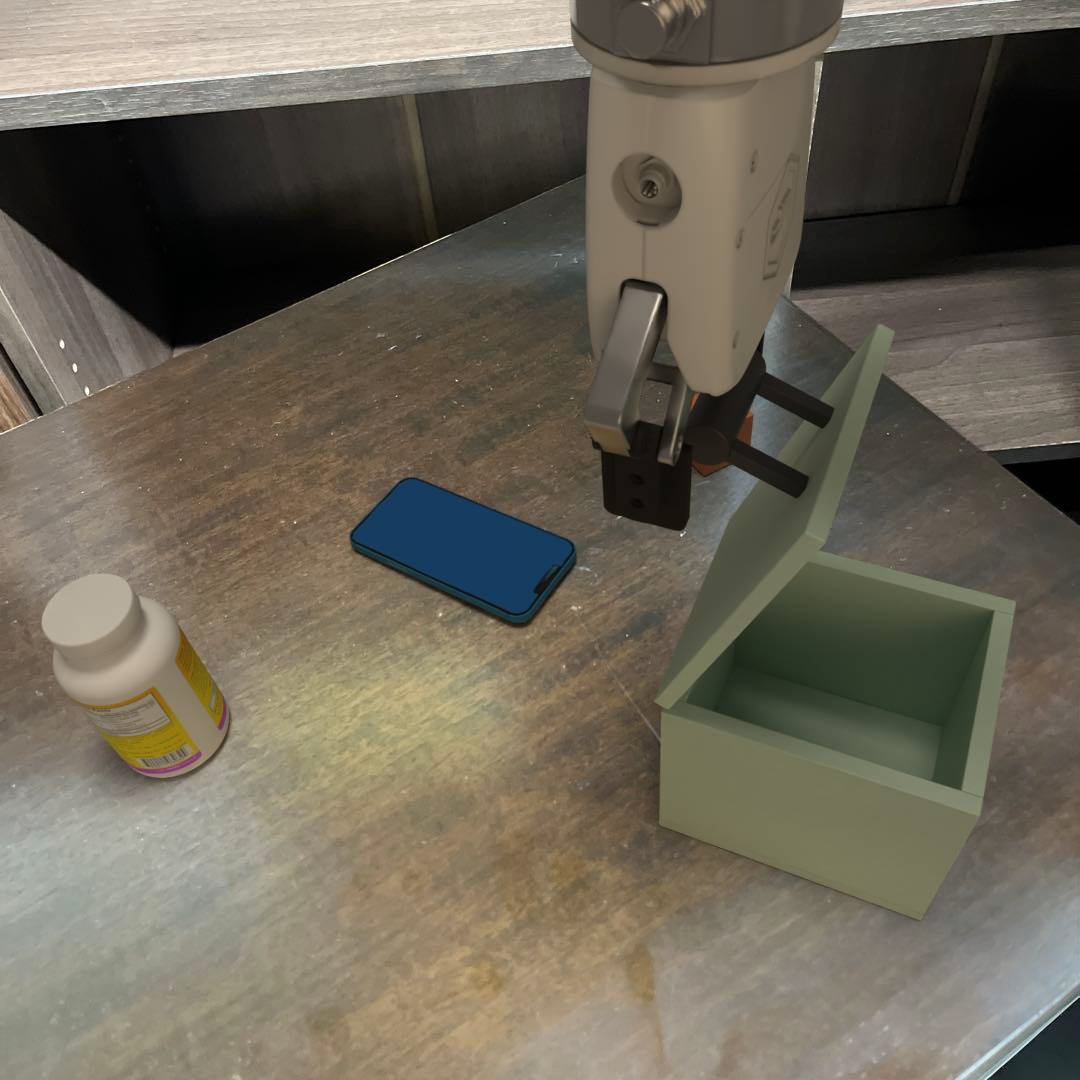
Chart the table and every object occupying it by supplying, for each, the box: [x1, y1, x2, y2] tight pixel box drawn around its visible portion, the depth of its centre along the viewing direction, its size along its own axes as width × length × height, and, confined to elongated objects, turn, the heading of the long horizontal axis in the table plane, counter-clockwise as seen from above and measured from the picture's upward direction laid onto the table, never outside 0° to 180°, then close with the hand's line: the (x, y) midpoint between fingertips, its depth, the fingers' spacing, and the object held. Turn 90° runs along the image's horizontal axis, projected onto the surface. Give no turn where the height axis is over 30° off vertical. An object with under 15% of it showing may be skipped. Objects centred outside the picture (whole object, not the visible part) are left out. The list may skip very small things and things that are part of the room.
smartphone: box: [348, 476, 578, 624], centre depth 68 cm, size 7×1×15 cm
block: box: [690, 392, 755, 477], centre depth 71 cm, size 4×4×4 cm
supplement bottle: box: [41, 572, 230, 779], centre depth 56 cm, size 7×7×13 cm
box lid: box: [653, 322, 896, 709], centre depth 42 cm, size 15×12×6 cm
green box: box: [658, 549, 1017, 921], centre depth 51 cm, size 14×12×12 cm
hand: (687, 432), depth 40 cm, fingers open, 9 cm apart
